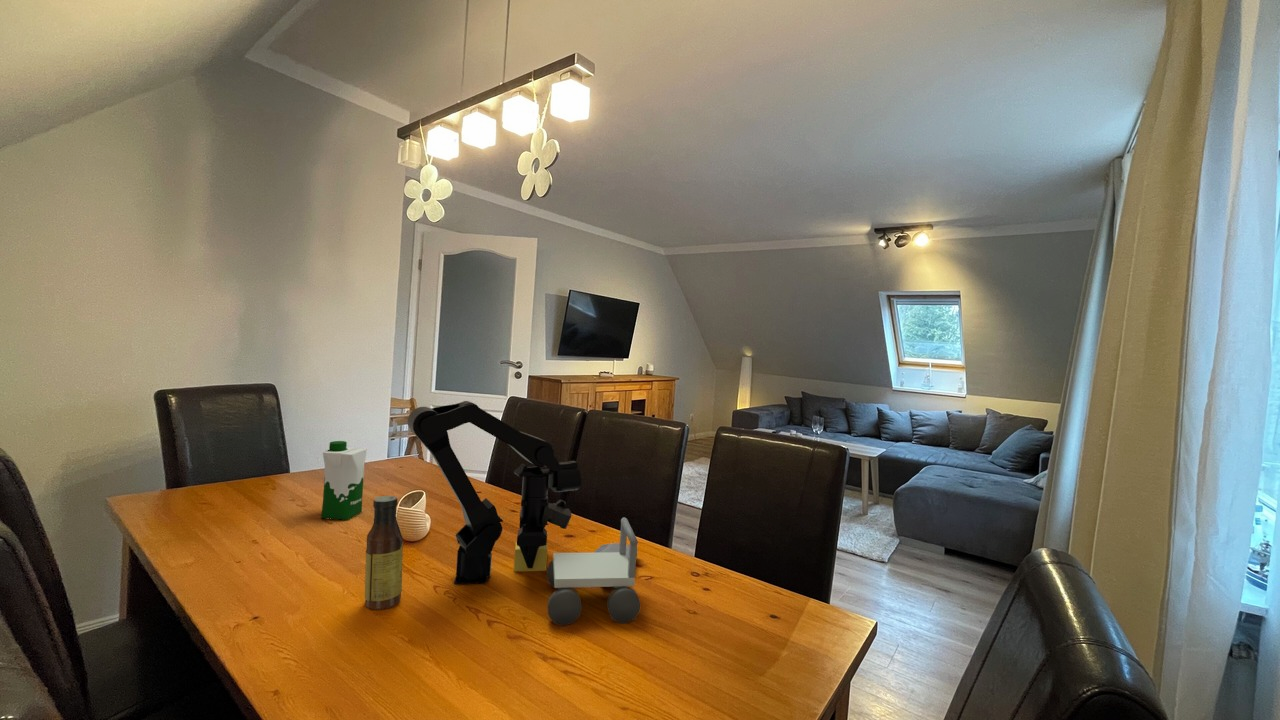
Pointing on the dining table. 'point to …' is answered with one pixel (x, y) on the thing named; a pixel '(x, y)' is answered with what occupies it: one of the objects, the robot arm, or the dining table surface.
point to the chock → (538, 563)
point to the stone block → (613, 549)
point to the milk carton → (343, 481)
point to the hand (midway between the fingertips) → (530, 562)
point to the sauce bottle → (384, 556)
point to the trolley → (595, 580)
